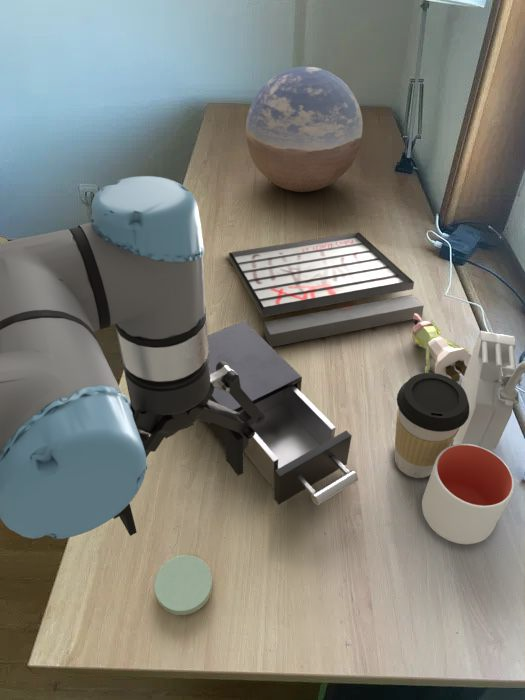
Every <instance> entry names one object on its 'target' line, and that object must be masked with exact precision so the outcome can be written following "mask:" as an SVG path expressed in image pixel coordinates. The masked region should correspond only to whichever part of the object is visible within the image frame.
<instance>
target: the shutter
mask: <svg viewBox="0 0 525 700" xmlns="http://www.w3.org/2000/svg"><path fill="white" fill-rule="evenodd" d="M228 259H229V262H230V264H231V265H232V267H233V269H234V270H235V272H236V274H237V276H238V278H239V279H240V281H241V283H242V284H243V286H244V288H245V289H246V291H247V293H248V295H249V296H250V299H251V300H252V302H253V304H254V305H255V307H256V309H257V311H258V312H259V314H260V316H261V318H264V317H270V316H275V315H280V314H287V313H290V312H296V311H297V312H298V311H302V310H308V309H313V308H319V307H323V306H329V305H335V304H341V303H345V302H350V301H356V300H362V299H367V298H373V297H379V296H383V295H384V296H385V295H389V294H394V293H400V292H405V291H410V290H411V291H412V290H414V287H415V286H414V285H415V281H414V280H412V279H411V278H410V277H409V276H408V275H407V274H406V273H405V272H404V271H403V270H402V269H400V268H399V267H398V266H397V265H396V264H395V263H394V262H392V261H391V260H390V258H388V257H387V256H386V255H385V254H383V252H382V251H380V250H379V249H378V248H377V247H376V246H375V245H374V244H373V243H371V242H370V241H369V240H368V238H366V237H365V236H363V234H362V233H360V232H358V231H357V232H353V233H347V234H346V233H345V234H340V235H339V234H338V235H333V236H327V237H320V238H313V239H308V240H300V241H296V242H295V241H294V242H288V243H282V244H277V245H270V246H264V247H263V246H262V247H257V248H256V247H255V248H251V249H243V250H237V251H231V252H228ZM424 306H425V305H424V304H423V303H422V302H421V301H420V300H419V299H418V298H416V297H415V295H413V294H409V295H403V296H398V297H391V298H387V299H382V300H375V301H371V302H365V303H360V304H354V305H349V306H343V307H338V308H333V309H328V310H322V311H316V312H312V313H307V314H302V315H296V316H290V317H285V318H280V319H274V320H269V321H263V332H264V335H265V336H264V337H265V339H266V342H267V343H268V344H269V345H270V346H271V347H272V348H274V347H279V346H284V345H288V344H294V343H299V342H304V341H310V340H314V339H319V338H325V337H330V336H334V335H340V334H345V333H349V332H355V331H360V330H364V329H371V328H375V327H381V326H385V325H390V324H395V323H401V322H406V321H411V320H414V319H413V317H414V314H415V313H416V314H418V315H419V316H420V318H421V319H422V318H423V313H424Z"/></svg>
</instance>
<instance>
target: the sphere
mask: <svg viewBox="0 0 525 700" xmlns="http://www.w3.org/2000/svg"><path fill="white" fill-rule="evenodd" d="M362 115H363V114H362V111H361V107H360V105H359V103H358V101H357V97H355V95H354V93H353V92H352V90H351V89H350V87H349V86H348V85H347V84H346V82H344V81H343V79H341V78H340V77H338V76H337V75H335V74H334V73H332V72H330V71H328V70H326V69H323V68H320V67H317V66H306V65H305V66H297V67H293V68H289V69H285V70H283V71H282V72H279V73H277V74H276V75H274V76H273V77H270V79H269V80H268V81H266V82H265V83H264V84H263V85H262V87H261V88H260V89H259V91H258V92H257V94H256V95H255V97H254V98H253V100H252V102H251V104H250V106H249V109H248V111H247V117H246V121H245V134H246V135H245V136H246V137H245V138H246V142H247V143H246V144H247V149H248V152H249V155H250V158H251V159H252V162H253V164H254V165H255V167H256V168H257V169H258V171H259V172H260V173H261V174H262V175H263V176H264V177H265V178H266V179H267V180H268V181H269V182H270V183H272V184H273V185H276V186H278V187H279V188H281V189H284V190H287V191H292V192H296V193H297V192H298V193H307V192H308V193H309V192H313V191H318V190H322V189H324V188H326V187H328V186H331V185H332V184H334V183H335V182H336V181H338V179H339V180H340V178H341V177H342V176H343V175H345V173H346V172H347V171H348V170H349V169H350V168H351V166H352V165H353V163H354V161H355V160H356V158H357V155H358V153H359V150H360V146H361V142H362V136H363V128H364V127H363V126H364V124H363V123H364V122H363V116H362Z"/></svg>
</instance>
